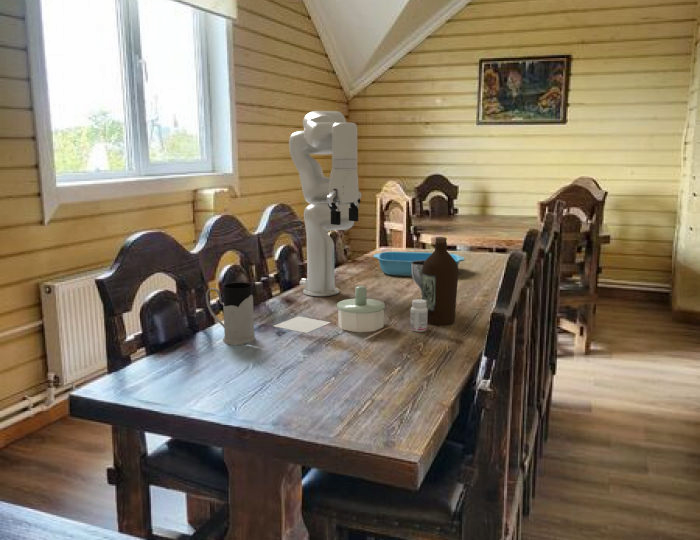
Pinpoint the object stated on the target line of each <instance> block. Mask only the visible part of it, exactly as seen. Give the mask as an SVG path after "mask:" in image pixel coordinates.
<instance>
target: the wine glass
mask: <svg viewBox="0 0 700 540" xmlns="http://www.w3.org/2000/svg"><path fill="white" fill-rule="evenodd" d="M424 262H425V260H418V261H413V262H412V263H411V270H412V276H411V277H412V280H413V281H414V283H415V284H416V285H417V287H418V288H419V289H420V292H421V299H422V300H423V292H422V267H423V264H424Z"/></svg>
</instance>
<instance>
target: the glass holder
mask: <svg viewBox="0 0 700 540" xmlns="http://www.w3.org/2000/svg"><path fill="white" fill-rule="evenodd" d="M222 286H223V287H222V292H223V293H222V294H223V301H222V295H221V292H220V290H219V289H218V288H216V287H210V288H208V289H207V291H206V293H205V300H206V306H207V308H208V311H209V313H210V314H211V316H212V317H213V318H214V319H215V320H216V321H217V323H219V324H220V325H221V326H222V327H223V329H224V338H223V339H222V341H223V343H224V344H226V345H229V344H230V346H244V345H247V343H250V342H252V341H254V340H256V337H257V336H256V335H255V319H254V317H255V316H254V295H253V284H252V283H249V282H230V283H226V284H224V285H222ZM211 290H213V291H215V292H216V293H217V295H218V301H219V304H221V305H223V307H222V308H223V321H221V320H220V319H219V318H218V317H217V315H216V314H215V313H214V311H213V310H212V307H211V306H210V301H209V292H210V291H211Z"/></svg>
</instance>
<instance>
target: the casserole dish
mask: <svg viewBox="0 0 700 540" xmlns="http://www.w3.org/2000/svg"><path fill="white" fill-rule="evenodd" d="M432 253H433V252H423V251H421V252H419V251H418V252H417V251H382V252H380V253H379V252H378V253H375V254H373V258H374V259H377V260H378V263H379V267H380V270H381V271H382V272H383V273H385V275H387V276H402V277H403V276H405V277H412V270H411V263H412V262H413V261H418V260H426V259H427V258H428V257H429V256H430V255H431V254H432ZM449 254H450V255H451V256H452V258H453V259H454V260H455V261H456V263H457V265H458V266H459V264H460V262H464V261H465V257H463V256H461V255H458V254H455V253H449Z"/></svg>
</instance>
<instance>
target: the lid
mask: <svg viewBox="0 0 700 540" xmlns="http://www.w3.org/2000/svg"><path fill="white" fill-rule="evenodd" d="M354 288H355V290H354V291H355V292H354V298H348V299H343V300H341V301H338V302H337V304H336V308H337V309H339V310H341V311H344V312H349V313H373V312H378V311H381V310H383V309H384V310H385V308H386V304H385V302H383V301H381V300H380V299H379V300H377V299H373V298H367V296H368V294H367V292H368V291H367V290H368V289H367V286H365V285H356V286H355V287H354Z"/></svg>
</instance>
